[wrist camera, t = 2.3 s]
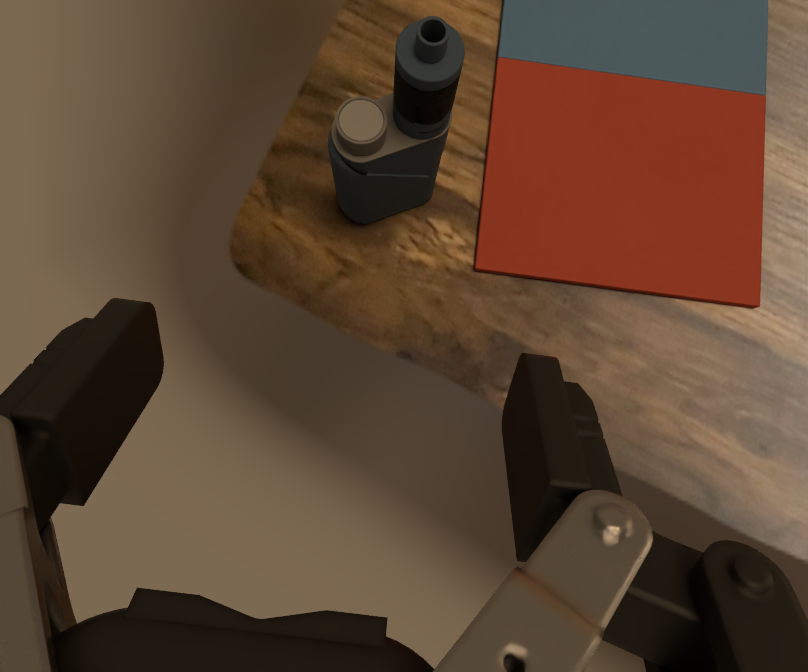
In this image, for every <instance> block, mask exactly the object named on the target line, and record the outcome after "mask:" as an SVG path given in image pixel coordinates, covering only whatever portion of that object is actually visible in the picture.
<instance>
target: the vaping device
mask: <svg viewBox="0 0 808 672" xmlns="http://www.w3.org/2000/svg"><path fill="white" fill-rule="evenodd" d="M464 56H465V49H464V44H463V41H462V39H461V37H460V35H459V34H458V32H457V31H456V30H455V29H454V28H453V27H452V26H450V25H448V24H447V23H446V22H445V21H444V20H443V19H441V18H439V17H435V16H430V17H426V18H424V19H422V20H418V21H416V22H413V23H411V24H410V25H408V26H407V27H406V28H405V29H404V30H403V31H402V32H401V34H400V35H399V38H398V40H397V43H396V55H395V75H394V93H392V94H389V95H386V96H383V97H381V98H378V99H375V100H374V99H372V98H369V97H364V96H358V97H353V98H350V99H348V100H346V101H345V102H344V103H343V104H341V106H340V107H339V109H338V111H337V113H336V118H335V119H334V122H333V124H332V129H331V131H330V134H329V138H328V148H329V154H330V160H331V165H332V171H333V176H334V182H335V188H336V193H337V198H338V203H339V205H340V207H341V209H342V211H343V212H344V213H345V214H346V215H347V216H348V217H349V218H351V219H352V220H354V221H356V222H358V223H363V224H365V223H371V222H373V221H376V220H379V219H382V218H385V217H387V216H390V215H393V214H396V213H399V212H401V211H404V210H407V209H410V208H412V207H415V206H418V205H421V204H424V203H426V202H427V201H428V200H429V199H430V198H431V197H432V192H433V188H434V184H435V180H436V176H437V172H438V167H439V163H440V159H441V155H442V152H443V150H444V146H445V143H446V139H447V135H448V130H449V127H450V124H451V120H452V107H453V102H454V98H455V94H456V90H457V86H458V81H459V77H460V73H461V69H462V65H463V61H464Z"/></svg>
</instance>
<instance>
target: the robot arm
mask: <svg viewBox="0 0 808 672" xmlns="http://www.w3.org/2000/svg"><path fill="white" fill-rule="evenodd" d="M163 359H164V358H163V352H162V346H161V340H160V335H159V328H158V322H157V317H156V311H155V308H154V306H153V304H151V303H150V302H142V301H135V300H127V299H119V298H113V299H111V300H110V301H109V302H108V303H107V304H106V305H105V306H104V307H103V309H102V310H101V311H100V312H99V313H98V314H97V315H96V316H95V317H94V318H93V319H92V318H83V319H82V320H80V321H78V322H76V323H75V324H73V325H71V326H69V327H67V328H65V329H64V330H62V331H61V332H60V333H59V334H58V335H57V336H56V337H55V338H54V339H53V340H52V341H51V343H50V344H48V346H47V347H46V350H43V351H42V352H41V353H40V354H39V355H38V356H37V357H36V358H35V359H34V363H33V364H30V365H29V366H28V367H27V368H26V369H25V370H24V371H23V372H22V373H21V374H20V375H19V376H18V377H17V378H16V379H15V380H14V381H13V382H12V384H11V385H10V386H9V387H8V388H7V389H6V390H5V391H4V392H3V393H2V394H1V395H0V672H584V670H585V669H586V667H587V665H588V663H589V661H590V660H591V658H592V656H593V654H594V652H595V651H596V648H597V647H598V645H599V643H600V641H601V639H602V640H604V641H606V642H609V643H611V644H613V645H615V646H617V647H619V648H622V649H624V650H626V651H628V652H630V653H633V654H635V655H637V656H639V657H641V658H643V659H644V663H645V668H646V672H808V620H807V618H806V616H805V613H804V611H803V609H802V607H801V605H800V603H799V601H798V598H797V596H796V594H795V592H794V590H793V588H792V586H791V584H790V582H789V580H788V579H787V578H786V576H785V575H784V573H783V572H782V571H781V570H780V569H779V567H778V566H777V565H775V563H774V562H772V561H771V560H770V559H769V558H768V557H766V556H765V555H764V554H762V553H761V552H759V551H757V550H756V549H754V548H752V547H750V546H748V545H745V544H742V543H739V542H735V541H727V540H725V541H718V542H715V543H713V544H711V545H710V546H709V547H708V548H707V549H706V550H705V552H704V553H702V552H700V551H697V550H695V549H692V548H690V547H687V546H685V545H682V544H680V543H678V542H675V541H672V540H670V539H668V538H665V537H663V536H661V535H659V534H657V533H656V532H654V531H652V530H651V527H650V524H649V522H648V521H647V519H646V517H645V516H644V514H643V513H642V512H641V511H640V510H639V509H638V508H637V507H636V506H635V505H633V503H631V502H630V501H628V500H627V499H625V498H623V496H622V493H621V490H620V486H619V483H618V480H617V477H616V474H615V471H614V467H613V464H612V461H611V458H610V455H609V451H608V448H607V445H606V442H605V439H603V432H602V429H601V426H600V423H598V416H597V413H596V410H595V407H594V404H593V401H592V400H591V398H590V397H589V396H588V395H587V394H586V392H585V391H584V390H583V389H582V388H581V386H580V385H579V384H578V383H572V382H564V379H563V376H562V372H561V368H560V364H559V361H558V359H557V358H556V357H550V356H543V355H535V354H528V353H522V354H521V355H520V357H519V360H518V363H517V366H516V369H515V372H514V376H513V379H512V382H511V385H510V388H509V392H508V395H507V398H506V401H505V405H504V410H503V416H502V434H503V444H504V452H505V461H506V470H507V479H508V487H509V495H510V504H511V513H512V522H513V530H514V538H515V547H516V556H517V561H521V562H526V563H525V564H524V565H523V567H521V568H519V567H516V568H515V569H514V570H513V571H512V572H511V573H510V574H509V575H508V576H507V578H506V579H505V580H504V581H503V583H502V584H501V585H500V587H499V588H498V589H497V590H496V592H495V593H494V594H493V596H492V597H491V598H490V599H489V601H488V602H487V603H486V605H485V606H484V607H483V608H482V610H481V611H480V612H479V613H478V615H477V616H476V617H475V618H474V620H473V621H472V622H471V624H470V625H469V626H468V627H467V629H466V630H465V631H464V633H463V634H462V635H461V636H460V638H459V639H458V640H457V641H456V643H455V644H454V645H453V647H452V648H451V649H450V650H449V652H448V653H447V654H446V656H445V657H444V658H443V659H442V661H441V662H440V663H439V664H438V666H437V667H436V668H435V669H434V668H432V667H431V666H430V665H429V664H428V663H427V662H426V661H425V660H424V659H423V658H422V657H421V656H419V655H418V654H417V653H415V652H414V651H413V650H411V649H410V648H408V647H406V646H405V645H403V644H401V643H399V642H398V641H396V640H393V639H391V638H388V637H386V627H387V618H386V617H378V616H369V615H360V614H353V613H344V612H336V611H327V610H326V611H318V612H311V613H304V614H297V615H290V616H283V617H275V618H268V619H256V618H253V617H250V616H248V615H245V614H243V613H241V612H238V611H236V610H234V609H231V608H229V607H226V606H224V605H222V604H219V603H217V602H214V601H212V600H210V599H207V598H205V597H202V596H200V595H194V594H185V593H177V592H168V591H160V590H151V589H143V588H137V589H136V591H135V593H134V596H133V598H132V600H131V602H130V604H129V606H128V608H123V609H118V610H114V611H110V612H106V613H103V614H100V615H97V616H94V617H91V618H89V619H86V620H84V621H82V622H80V623H78V624H77V622H76V619H75V616H74V614H73V610H72V606H71V603H70V599H69V594H68V590H67V585H66V580H65V576H64V571H63V567H62V562H61V557H60V552H59V548H58V543H57V539H56V534H55V530H54V525H53V522H52V520H51V516H52V514H53V513H54V511H55V510H56V508H57V507H58V505H59V504H60V503H63V504H71V505H79V506H84V505H85V503H86V501H87V500H88V498H89V497H90V495H91V493H92V491H93V490H94V488H95V487H96V485H97V483H98V482H99V480H100V479H101V477H102V476H103V474H104V472H105V471H106V469H107V467H108V466H109V464H110V463H111V461H112V460H113V458H114V456H115V455H116V453H117V452H118V450H119V448H120V447H121V445H122V443H123V442H124V440H125V439H126V437H127V435H128V433H129V432H130V431H131V429H132V427H133V426H134V424H135V423H136V421H137V419H138V418H139V416H140V415H141V413H142V411H143V410H144V408H145V406H146V405H147V403H148V402H149V400H150V398H151V397H152V395H153V394H154V392H155V390H156V389H157V387H158V385H159V383H160V381H161V377H162V373H163V367H164V360H163Z"/></svg>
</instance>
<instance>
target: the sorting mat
mask: <svg viewBox="0 0 808 672" xmlns="http://www.w3.org/2000/svg"><path fill="white" fill-rule="evenodd" d="M767 29H768V0H503V6H502V15H501V24H500V34H499V43H498V52H497V62H496V70H495V80H494V89H493V98H492V107H491V116H490V126H489V135H488V144H487V153H486V162H485V172H484V181H483V190H482V199H481V208H480V217H479V227H478V236H477V245H476V254H475V263H474V271H481V272H488V273H495V274H503V275H510V276H518V277H525V278H533V279H540V280H548V281H555V282H563V283H570V284H578V285H585V286H593V287H600V288H607V289H615V290H622V291H630V292H637V293H645V294H652V295H660V296H667V297H675V298H682V299H690V300H697V301H705V302H712V303H719V304H727V305H734V306H742V307H749V308H756V307H759V306H760V289H761V252H762V215H763V178H764V141H765V104H766V96H765V95H766V66H767Z"/></svg>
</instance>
